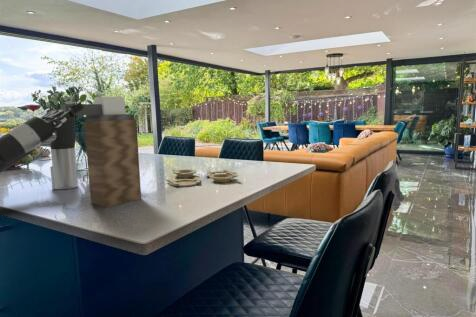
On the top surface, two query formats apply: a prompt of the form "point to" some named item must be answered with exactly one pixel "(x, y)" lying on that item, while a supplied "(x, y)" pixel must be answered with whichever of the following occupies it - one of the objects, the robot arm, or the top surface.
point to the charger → (100, 106)
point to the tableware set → (191, 182)
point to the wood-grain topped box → (112, 159)
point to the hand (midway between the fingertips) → (78, 105)
